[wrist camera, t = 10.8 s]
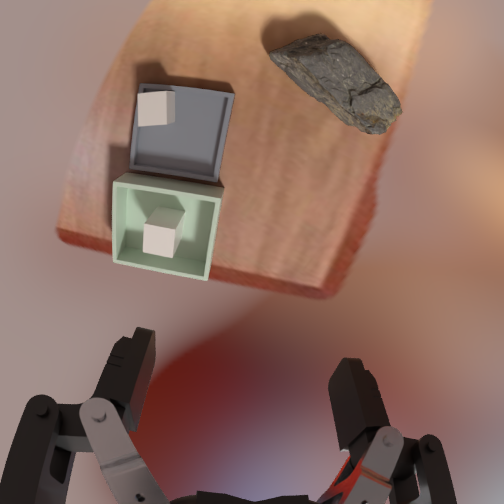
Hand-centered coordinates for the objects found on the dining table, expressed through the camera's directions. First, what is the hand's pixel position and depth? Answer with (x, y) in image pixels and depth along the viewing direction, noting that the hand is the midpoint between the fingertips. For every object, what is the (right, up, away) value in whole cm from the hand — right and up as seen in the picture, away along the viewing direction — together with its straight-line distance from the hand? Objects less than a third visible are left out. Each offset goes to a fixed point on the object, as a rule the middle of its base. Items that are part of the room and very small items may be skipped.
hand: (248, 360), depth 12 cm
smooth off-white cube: (-11, +23, +21) cm, 33 cm away
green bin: (-12, +9, +29) cm, 33 cm away
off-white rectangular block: (-11, +9, +29) cm, 32 cm away
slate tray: (-9, +20, +23) cm, 32 cm away
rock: (+10, +26, +20) cm, 35 cm away
